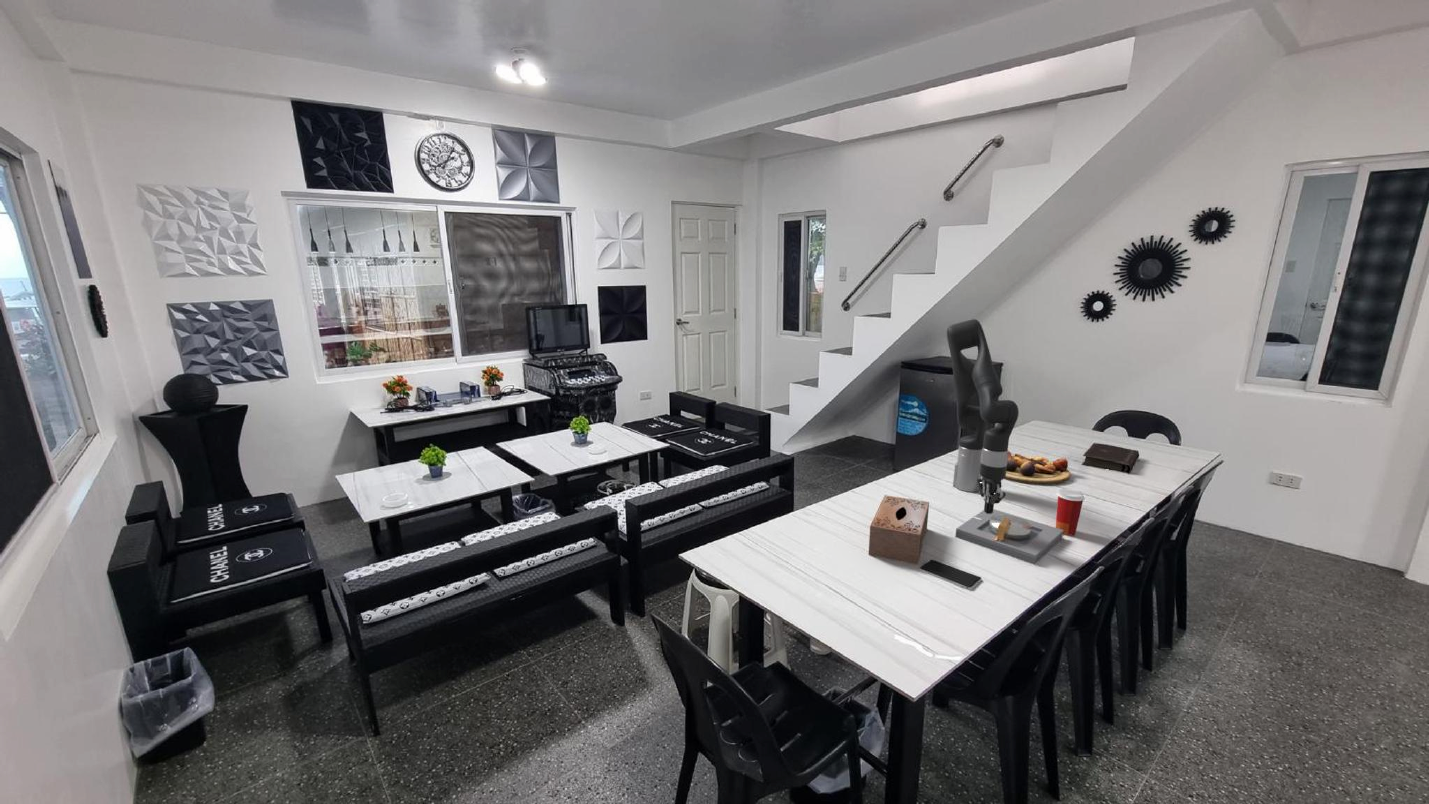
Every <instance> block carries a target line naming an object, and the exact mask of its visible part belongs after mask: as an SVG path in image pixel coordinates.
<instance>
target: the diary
mask: <svg viewBox="0 0 1429 804" xmlns="http://www.w3.org/2000/svg"><path fill="white" fill-rule="evenodd" d="M1082 457H1085V458H1084V461H1083V462H1082V463H1081V464H1080V465H1081V466H1085V467H1091V468H1096V469H1101V470H1105V469H1109V470H1108V471H1115V472H1119V471H1122V473H1126V472H1127V471H1128V470H1129V471H1128V475H1130V474H1131V473H1132V472H1133V471H1132V470H1133V468H1134V467H1135V465H1136V463H1137V461H1138V459H1139V457H1140V453H1139V450H1135V449H1130V448H1126V447H1121V446H1116V445H1112V444H1107V443H1106V444H1104V443H1098V442H1093V443H1092V445H1090V447H1088V449H1087V450H1086V451H1084V453H1083V455H1082ZM1129 467H1130V468H1129Z"/></svg>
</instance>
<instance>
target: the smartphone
mask: <svg viewBox="0 0 1429 804" xmlns="http://www.w3.org/2000/svg"><path fill="white" fill-rule="evenodd" d="M918 570H919V571H920V572H922V573H925V574H927V575H930V576H932V577H935V578H938V579H939V580H940V579H941V580H943V581H945V582H948V583H950V584H953V585H955V586H957V587H959V588H961V589H965V590H968V591H972V589H974V588H975V587H976V586H977V585H978V584H979V583H980V582H981V581H982V577H981V576H979V575H976V574H973V573H971V572H967V571H965V570H963V569H960V568H957V567H954V566H951V565H949V564H946V563H943V562H941V561H938V560H935V559H929V560H928V561H927V562H925V563H923V564H922V565H921V566H920V567H918Z"/></svg>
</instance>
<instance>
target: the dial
mask: <svg viewBox="0 0 1429 804" xmlns="http://www.w3.org/2000/svg"><path fill="white" fill-rule="evenodd" d="M1018 517H1019V516H1018ZM1018 517H1014V516H1008V515H996V516H993V517H991V518H990V523H989V530H990V531H991V532H992V533H993V534H995V535H997V539H1001V540H1004V539H1010V540H1026V539H1028V538H1030V535H1031V527H1032V526H1031V524H1030V523H1028V522H1027V521H1025V520H1023V519H1021V518H1018Z"/></svg>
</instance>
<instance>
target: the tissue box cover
mask: <svg viewBox="0 0 1429 804" xmlns="http://www.w3.org/2000/svg"><path fill="white" fill-rule="evenodd" d="M929 509H930V502H929V501H924V500H918V499H913V498H912V499H911V498H904V497H899V496H893V495H887V494H886V495H885V494H884V496H883V497H882V499H881V502H880V504H879V506H878V508H877V510H876V512H875V514H874V517H873V519H872V521H871V523H870V526H869V537H868V538H869V539H868V540H869V541H868V556H871V557H872V556H873V557H877V558H882V559H883V558H884V559H888V560H891V559H892V561H896V562H897V561H898V562H901V561H902V563H906V564H912V565H917V566H918V565H919V561H920V557H921V553H922V550H923V546H924V542H925V539H926V538H925V537H926V535H925V534H927V530H928V521H929Z"/></svg>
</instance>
